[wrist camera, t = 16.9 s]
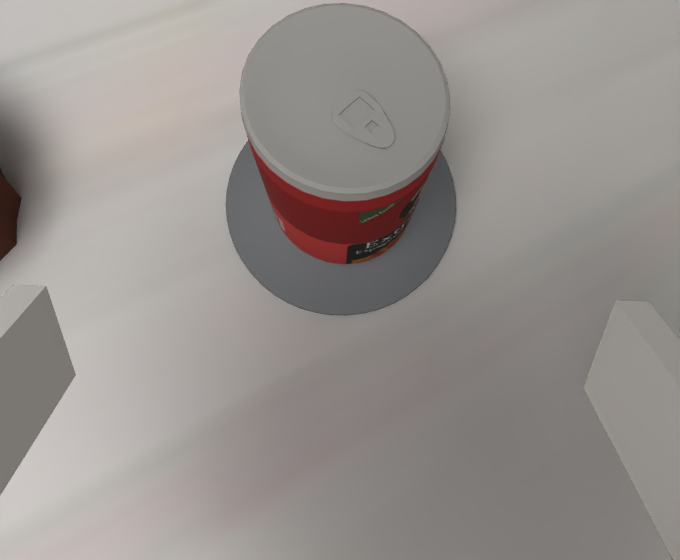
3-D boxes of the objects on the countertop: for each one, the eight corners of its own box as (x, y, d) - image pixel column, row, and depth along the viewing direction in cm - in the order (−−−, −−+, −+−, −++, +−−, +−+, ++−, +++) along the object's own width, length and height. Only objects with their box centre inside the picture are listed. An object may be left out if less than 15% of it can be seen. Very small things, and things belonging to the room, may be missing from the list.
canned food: (369, 293, 29) (389, 234, 18) (245, 222, 30) (194, 125, 19) (435, 180, 30) (490, 62, 20) (315, 115, 31) (305, -33, 20)
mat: (333, 61, 32) (333, 55, 32) (499, 196, 31) (502, 192, 30) (180, 210, 30) (177, 207, 30) (349, 364, 29) (350, 364, 28)
